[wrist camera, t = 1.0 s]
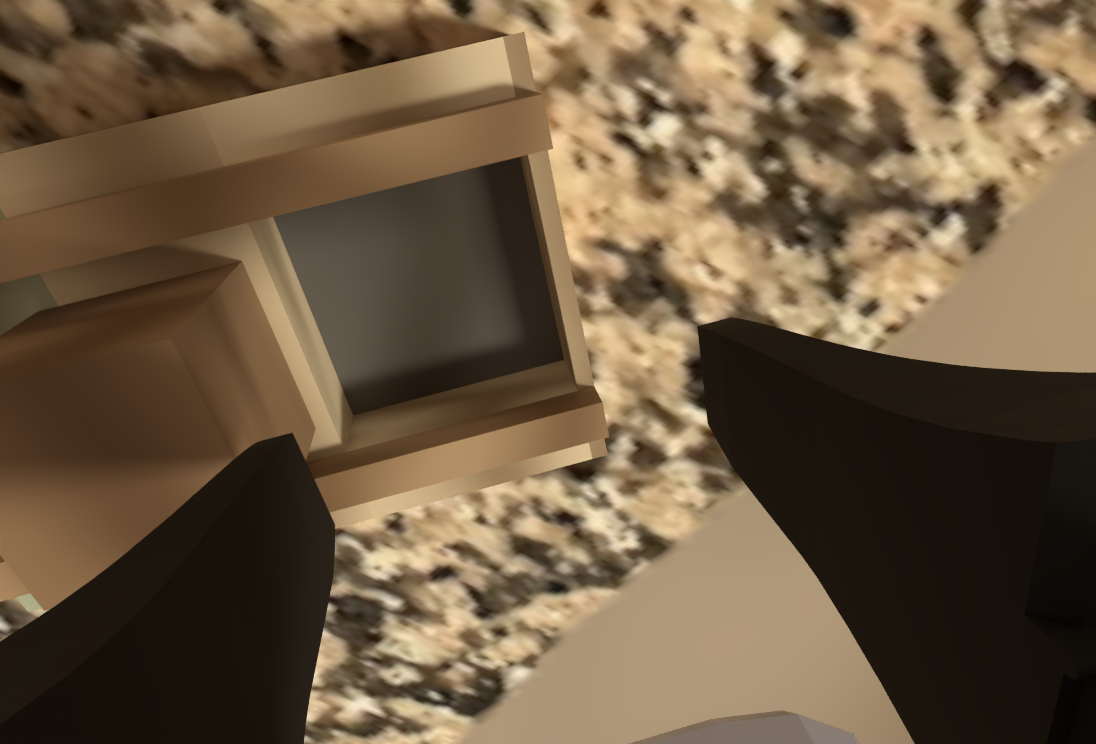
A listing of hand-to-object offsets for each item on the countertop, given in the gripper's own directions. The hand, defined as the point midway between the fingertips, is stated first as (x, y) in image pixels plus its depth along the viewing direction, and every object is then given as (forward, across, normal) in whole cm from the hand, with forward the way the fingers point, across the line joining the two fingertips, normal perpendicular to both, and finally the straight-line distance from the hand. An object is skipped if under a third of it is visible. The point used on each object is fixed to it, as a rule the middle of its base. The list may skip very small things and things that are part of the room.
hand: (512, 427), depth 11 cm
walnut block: (+7, +8, 0) cm, 11 cm away
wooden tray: (+9, +6, 0) cm, 11 cm away
